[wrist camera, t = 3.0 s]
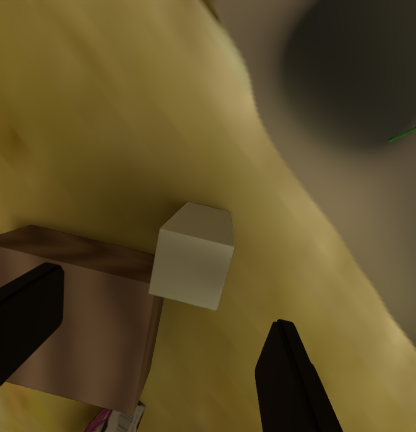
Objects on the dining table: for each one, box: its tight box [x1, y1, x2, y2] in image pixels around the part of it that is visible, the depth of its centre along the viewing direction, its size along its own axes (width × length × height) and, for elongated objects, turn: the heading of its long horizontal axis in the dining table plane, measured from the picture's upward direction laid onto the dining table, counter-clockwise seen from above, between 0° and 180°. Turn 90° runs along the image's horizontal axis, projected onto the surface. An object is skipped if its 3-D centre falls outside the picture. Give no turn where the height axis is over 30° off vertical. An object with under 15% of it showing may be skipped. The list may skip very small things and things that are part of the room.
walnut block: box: [0, 225, 164, 415], centre depth 25 cm, size 18×18×6 cm
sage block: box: [149, 202, 235, 311], centre depth 19 cm, size 5×5×10 cm
